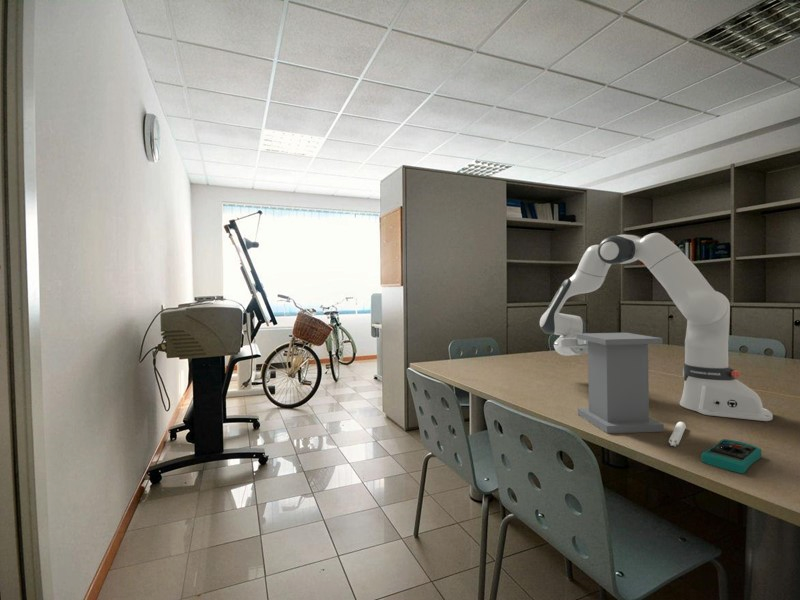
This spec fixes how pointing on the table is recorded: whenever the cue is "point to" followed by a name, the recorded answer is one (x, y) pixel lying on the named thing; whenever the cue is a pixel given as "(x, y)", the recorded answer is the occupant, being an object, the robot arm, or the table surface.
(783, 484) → the table surface
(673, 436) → the white rod
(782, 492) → the table surface
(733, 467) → the digital multimeter
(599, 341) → the stand
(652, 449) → the table surface
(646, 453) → the table surface
